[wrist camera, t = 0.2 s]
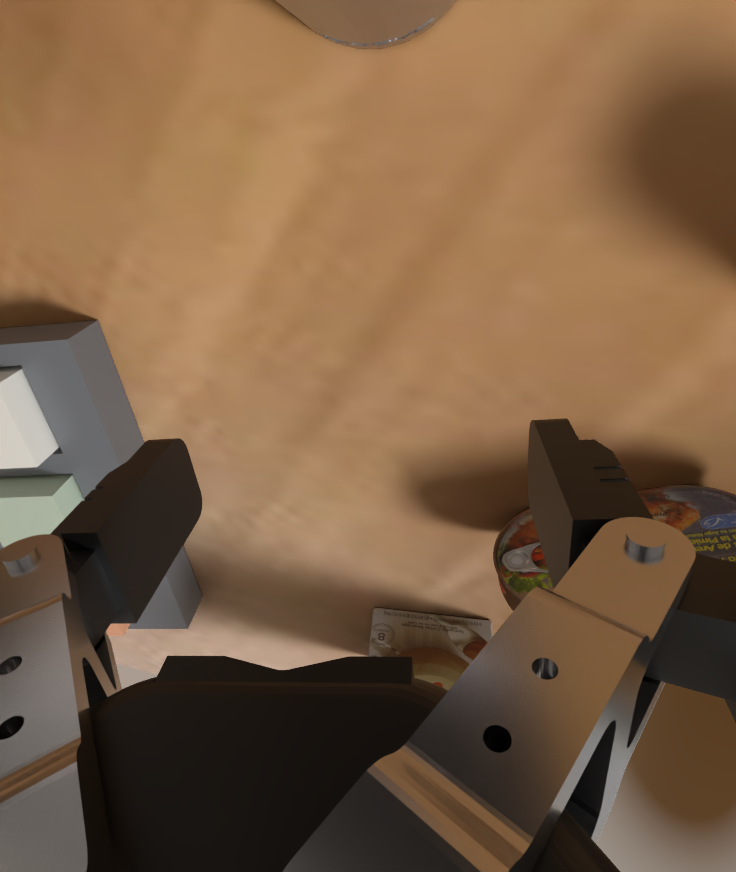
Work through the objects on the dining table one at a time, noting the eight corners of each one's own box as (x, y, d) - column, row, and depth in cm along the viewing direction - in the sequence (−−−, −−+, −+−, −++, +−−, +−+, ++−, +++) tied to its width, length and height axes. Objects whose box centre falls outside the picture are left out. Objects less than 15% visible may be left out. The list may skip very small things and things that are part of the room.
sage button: (9, 467, 34) (-27, 498, 31) (82, 464, 33) (52, 495, 30) (43, 528, 36) (12, 561, 34) (110, 526, 36) (85, 560, 33)
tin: (741, 475, 31) (837, 581, 24) (737, 516, 33) (825, 627, 26) (485, 509, 34) (502, 613, 27) (491, 545, 36) (509, 653, 29)
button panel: (-91, 335, 31) (-137, 355, 29) (97, 320, 30) (67, 339, 27) (59, 598, 42) (36, 629, 40) (202, 596, 41) (187, 628, 38)
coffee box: (494, 616, 39) (533, 884, 26) (481, 670, 43) (509, 933, 29) (370, 604, 40) (344, 861, 26) (367, 659, 43) (342, 912, 29)
